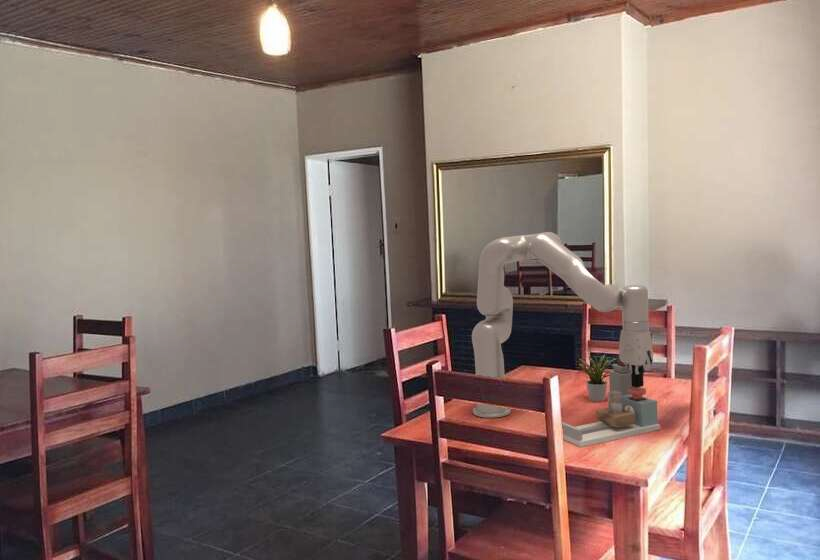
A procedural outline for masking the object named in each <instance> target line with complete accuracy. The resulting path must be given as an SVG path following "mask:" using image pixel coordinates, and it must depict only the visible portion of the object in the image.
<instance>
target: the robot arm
mask: <svg viewBox="0 0 820 560" xmlns="http://www.w3.org/2000/svg"><path fill="white" fill-rule="evenodd" d="M530 260H531V261H532V260H533V261H534V260H537V261H538V262H539V263H541V264H542V265H544V266H545V267H546V268H548V269H549V270H550V271H551V272H552V273H554V274H555V275H556V276H557V277H559V278H560V279H561V280H563V281H564V282H565V284H566V286H568V287H569V288H570V289H571V291H572V292H573V293H574V294H576V295H577V296H578V297H579V298H580V299H581V300H583V301H584V302H585V303H587V304H588V305H589V306H590V307H591V308H593V309H595V310H596V311H598V312H601V313H610V312H611V311H613V310H615V309H617V308H621V311H622V312H621V313H622V314H621V315H622V316H621V317H622V322H621V324H622V329H621V330H620V335H619V343H618V345H619V346H618V350H619V351H618V358H619V359H620V361H621V362H623V364H624V365H626V366H628V368H629V371H630V373H632V374H631V381H632V387H636V388H637V387H642V388H643V387H644V386H645V385H644V383H645V382H644V374H646V371H648V370H651V369H652V364H653V363H654V351H653V350H654V349H653V342H652V341H653V340H652V336H651V332H650V321H649V320H650V317H649V290H648V287H646V285H641V284H640V285H639V284H630V285H619V284H609V283H608V284H603V283H602V282H600V281H599V280H598V279H597V278H595V277H594V276H593V275H592V274H591V273H590V272H589V271H588V269H587V268H586V266H585V263H584V261H583V260H582V258H581V257H580V256H578V255H577V254H576V253H574V252H573V251H571V250H570V249H569V248H568V247H566V246H565V245H564V244H563V243H562V240H561V238H560V236H558V234H556V233H554V232H551V231H545V232H539V233H533V234H524V235H523V234H522V235H512V236H505V237H504V236H503V237H500V238H496V239H495V240H494V239H493V240H492V241H490V242H488V243H487V244H486V245H485V246H484V248H483V249H482V250H481V252H480V256H479V259H478V261H479V262H478V276H477V277H478V279H477V292H476V306H477V307H476V308H477V310H478V311H479V313H480V314H481V315H483V316H485V319H484V320H480V321H479V322H478V323H477V324H476V325H475V326H474V328H473V330H472V331H471V342H472V348H473V354H474V366H475V376H476V375H482V376H490V377H504V378H505V361H504V353H503V350H502V344H503V343H504V342H506V341H507V340H509V338H510V335H511V334H512V327H513V308H514V299H513V295H512V293H511V291H510V289H509V288H508V287H507V286H505V270H504V269H505V268H504V267H505V265H506V264H510V263H516V262H521V261H530ZM510 413H511V408H510V409H508V408H502V407H496V406H491V405H484V404H478V403H477V402H476V407H473V408H472V414H473V415H475V416H476V417H481V418H488V419H494V418H501V417H502V418H503V417H507V416H508V415H510Z"/></svg>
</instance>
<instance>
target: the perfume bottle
mask: <svg viewBox="0 0 820 560" xmlns="http://www.w3.org/2000/svg"><path fill="white" fill-rule="evenodd" d="M611 366H612V368H613V369H612V370H609V371H608V372H609V373H608V375H609V376H608V378H609V392H612V391H619V392H622V396H625V395H630V394H629V393H628V388H630V387H632V381H631V374H632V373H630V371H629V368H628V366H626V365H624V364H623V362H621V361H620V359H619V357H616V363H613V364H611Z"/></svg>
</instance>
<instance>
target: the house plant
mask: <svg viewBox="0 0 820 560" xmlns="http://www.w3.org/2000/svg"><path fill="white" fill-rule="evenodd" d="M593 356H594V358H595V361H594V359H593V358H592V357H590V356H588V355H586V357H587V358H588V360H590V363H591V366H592V367H591V366H590V365H589V364H588V363H587V362H586V361H584V360H583V359H581V358H579V360H580V361H582V363H583V364H584V365H585V366H584V365H583V364H581V363H578V364H579V366H580V367H581V369H582V370H581V374H585V375H587V376H584V379H585V378H589V380H587V381H586V387H587V393H588V398H589V401H590V400H591V401H590V402H594V401H596V402H597V403H599V401H601V402H605V401H604V400H606V396H607V395H606V393H607V387H608V382H607V381H606V380H603V379H604V378H607V377H608V378H609V371H607V372H606V373H605V374H604V371H606V369H607V368H608V366H609V365H610V364H611V363H612V362H613V361H616V358H614V359H611V360H609V358H608V357H606V358H605V356H606V354H604V355H602V356H601V357H600V359H599V361H598V359H597V356H596V355H595V354H594V355H593ZM604 360H605V361H604Z"/></svg>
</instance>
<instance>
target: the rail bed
mask: <svg viewBox="0 0 820 560" xmlns="http://www.w3.org/2000/svg"><path fill="white" fill-rule="evenodd" d="M562 429H563V439H562V440H564V441H566V442H568V441H569V442H568V443H570V442H571V444H572V445H575V446H577V447H579V448H584V447H588V446H589V447H590V446H593V445H597V444H601V443H606V442H611V441H614V440H619V439H624V438H629V437H633V436H638V435H642V434H646V433H651V432H656V431H659V430H661V424H659V423H658V424H654V425H650V426H645V427H640V426H637V425H634V424H631V425H627V426H622V427H617V428H616V427H613V426H611V425H608V424H606V423H603V422H600V421H597V422H592V423H587V424H582V425H577V426H573V425H571V424H569V423H567V422H564V421H562Z"/></svg>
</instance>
